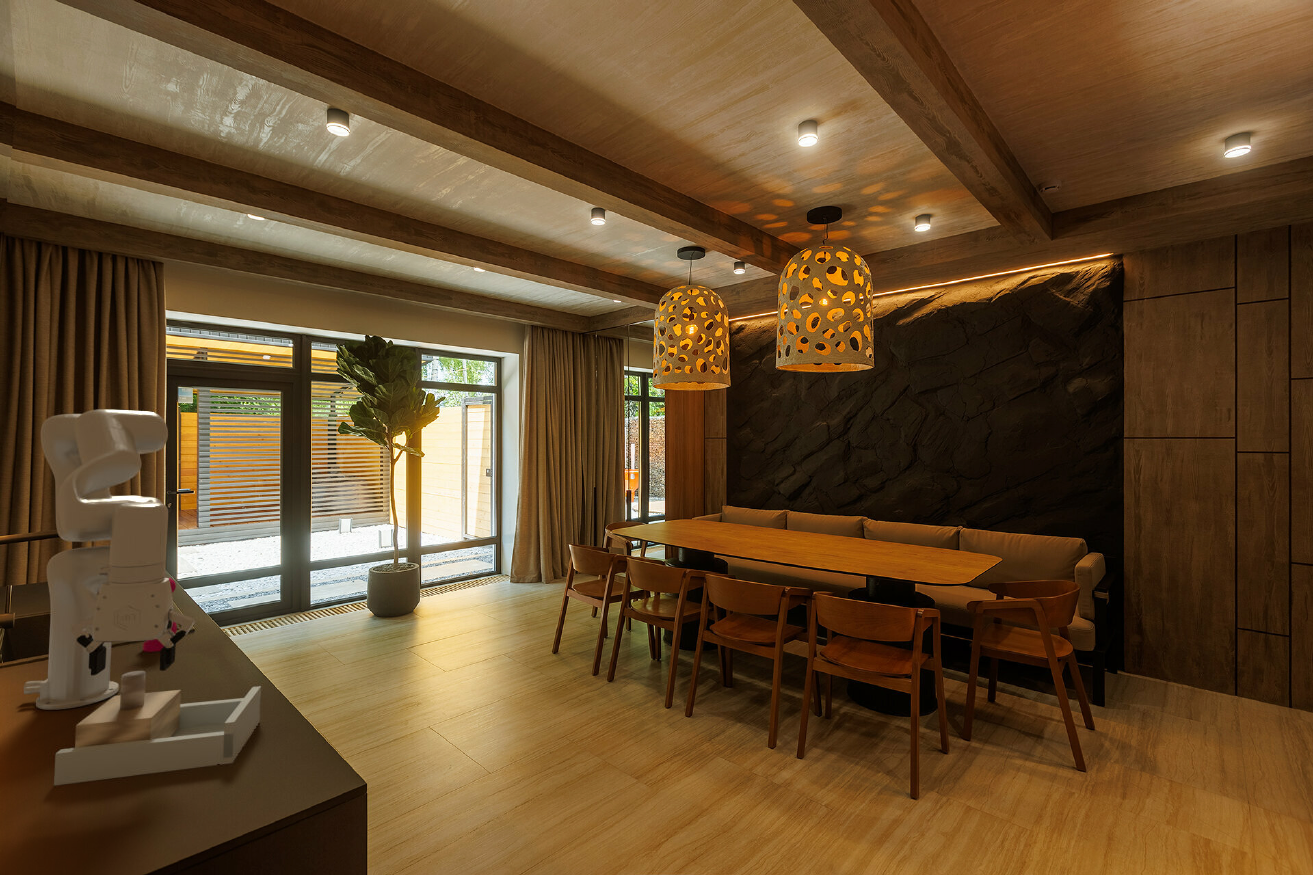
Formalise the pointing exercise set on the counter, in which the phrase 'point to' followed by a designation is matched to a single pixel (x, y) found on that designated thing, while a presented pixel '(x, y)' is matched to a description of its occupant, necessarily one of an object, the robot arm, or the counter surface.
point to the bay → (169, 744)
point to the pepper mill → (156, 644)
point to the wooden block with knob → (131, 715)
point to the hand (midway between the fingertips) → (132, 670)
